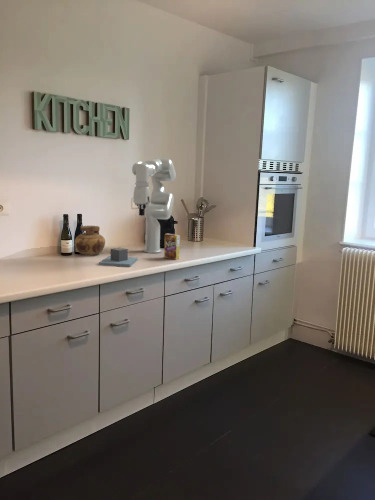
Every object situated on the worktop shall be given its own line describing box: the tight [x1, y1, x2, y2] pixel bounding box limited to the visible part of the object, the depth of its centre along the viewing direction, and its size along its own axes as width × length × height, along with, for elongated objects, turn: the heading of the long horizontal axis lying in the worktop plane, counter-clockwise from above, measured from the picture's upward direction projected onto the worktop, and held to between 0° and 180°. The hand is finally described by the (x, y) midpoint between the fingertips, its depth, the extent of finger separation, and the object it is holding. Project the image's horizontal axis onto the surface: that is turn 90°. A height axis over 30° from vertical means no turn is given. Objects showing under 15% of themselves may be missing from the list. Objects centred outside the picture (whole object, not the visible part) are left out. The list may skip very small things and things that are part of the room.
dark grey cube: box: [110, 247, 129, 262], centre depth 256 cm, size 7×7×7 cm
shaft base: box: [98, 255, 139, 268], centre depth 256 cm, size 20×18×6 cm
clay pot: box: [74, 225, 106, 256], centre depth 277 cm, size 19×19×20 cm
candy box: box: [163, 233, 181, 261], centre depth 273 cm, size 9×4×15 cm, turn 60°
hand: (141, 215), depth 266 cm, fingers closed
